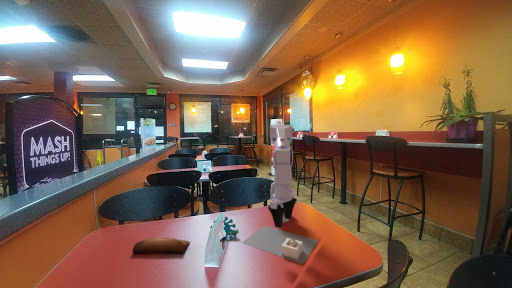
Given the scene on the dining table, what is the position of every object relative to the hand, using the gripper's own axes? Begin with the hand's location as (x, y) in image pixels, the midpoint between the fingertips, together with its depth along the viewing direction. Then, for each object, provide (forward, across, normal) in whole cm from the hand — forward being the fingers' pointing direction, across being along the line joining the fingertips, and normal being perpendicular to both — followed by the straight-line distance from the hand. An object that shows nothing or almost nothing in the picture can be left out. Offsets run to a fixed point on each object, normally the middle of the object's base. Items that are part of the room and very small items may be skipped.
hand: (283, 222), depth 70 cm
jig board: (+10, -3, -2) cm, 10 cm away
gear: (+10, +5, -22) cm, 25 cm away
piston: (+10, +1, +4) cm, 11 cm away
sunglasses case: (+10, +21, -37) cm, 44 cm away
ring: (+9, +1, +4) cm, 10 cm away
